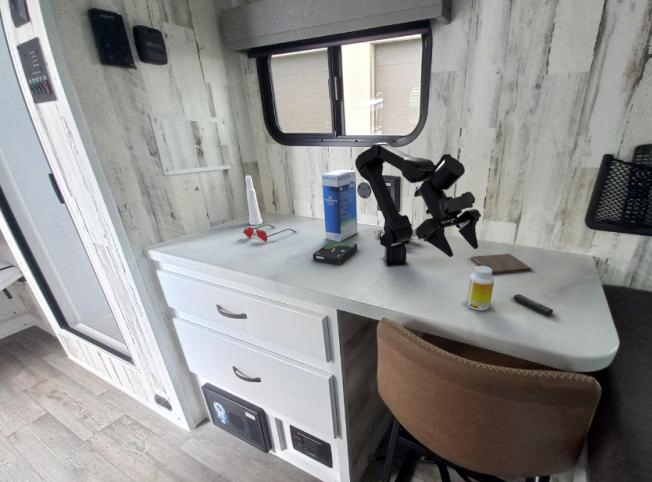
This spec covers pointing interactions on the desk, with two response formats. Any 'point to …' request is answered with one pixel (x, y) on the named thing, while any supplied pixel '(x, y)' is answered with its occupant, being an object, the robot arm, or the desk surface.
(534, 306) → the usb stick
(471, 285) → the supplement bottle
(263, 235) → the glasses
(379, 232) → the clip-on lamp
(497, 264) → the walnut board
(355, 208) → the string lights box
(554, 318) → the desk surface
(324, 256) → the disk drive
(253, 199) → the cosmetic bottle
